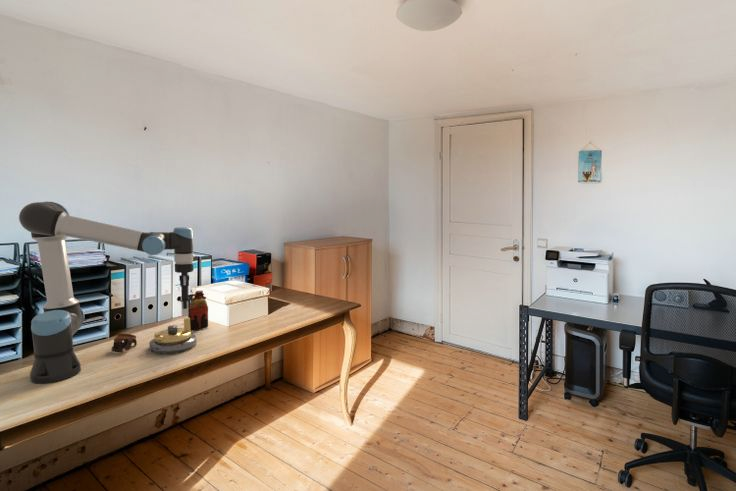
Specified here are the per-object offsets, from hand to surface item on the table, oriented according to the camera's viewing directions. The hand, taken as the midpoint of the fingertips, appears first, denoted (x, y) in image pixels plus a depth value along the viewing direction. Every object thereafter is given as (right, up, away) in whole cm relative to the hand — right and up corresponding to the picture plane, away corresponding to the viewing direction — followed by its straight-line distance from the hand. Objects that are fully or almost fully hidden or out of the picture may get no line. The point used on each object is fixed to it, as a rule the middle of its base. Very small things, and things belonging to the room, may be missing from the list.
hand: (185, 315), depth 180 cm
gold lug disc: (-6, -11, +2) cm, 13 cm away
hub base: (-6, -14, +2) cm, 16 cm away
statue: (-7, -11, +27) cm, 30 cm away
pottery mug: (-25, -15, -2) cm, 30 cm away
